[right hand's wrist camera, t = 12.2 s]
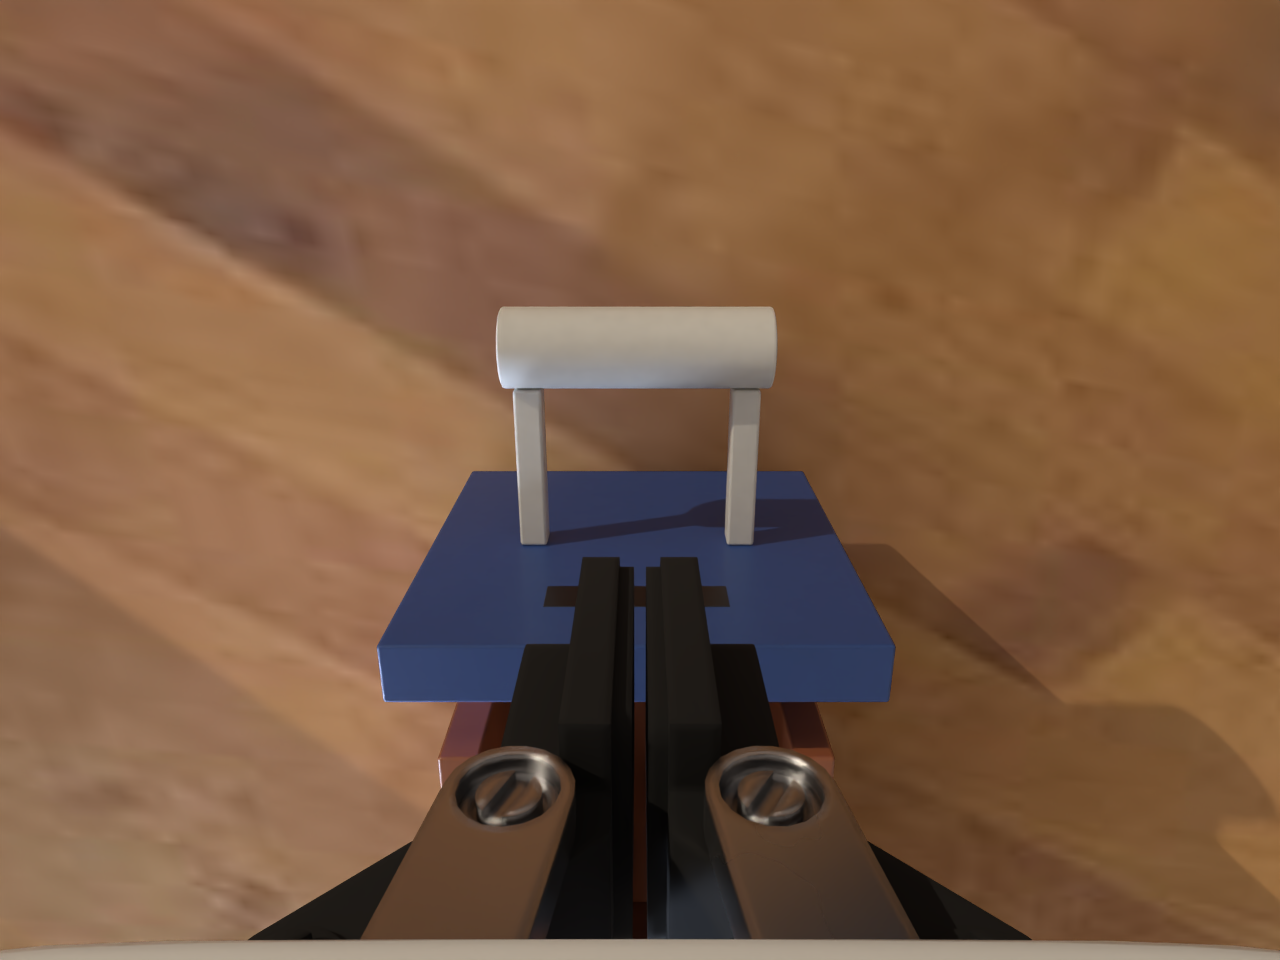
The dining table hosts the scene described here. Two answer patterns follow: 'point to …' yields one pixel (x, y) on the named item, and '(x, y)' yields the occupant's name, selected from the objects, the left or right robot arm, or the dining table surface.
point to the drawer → (635, 543)
